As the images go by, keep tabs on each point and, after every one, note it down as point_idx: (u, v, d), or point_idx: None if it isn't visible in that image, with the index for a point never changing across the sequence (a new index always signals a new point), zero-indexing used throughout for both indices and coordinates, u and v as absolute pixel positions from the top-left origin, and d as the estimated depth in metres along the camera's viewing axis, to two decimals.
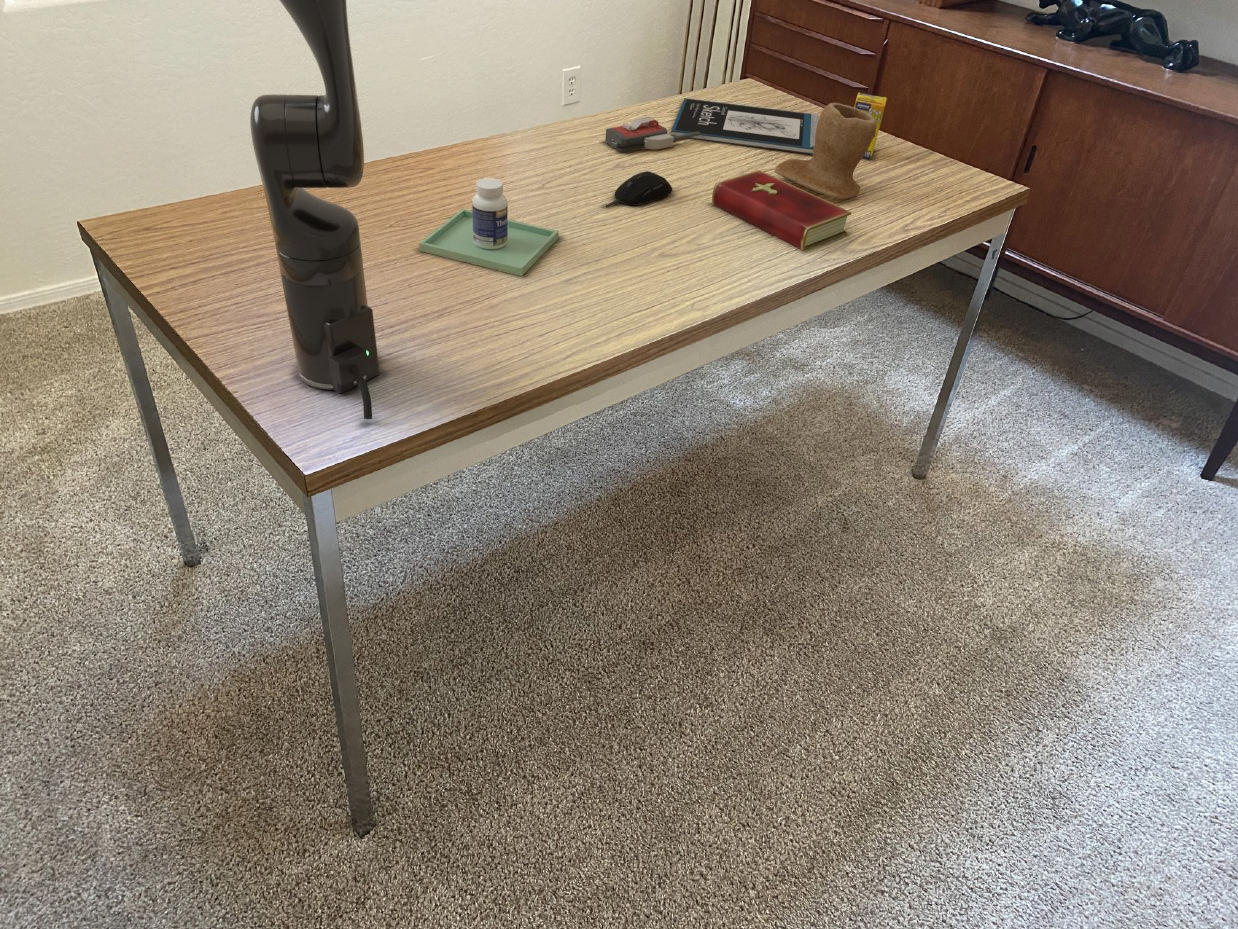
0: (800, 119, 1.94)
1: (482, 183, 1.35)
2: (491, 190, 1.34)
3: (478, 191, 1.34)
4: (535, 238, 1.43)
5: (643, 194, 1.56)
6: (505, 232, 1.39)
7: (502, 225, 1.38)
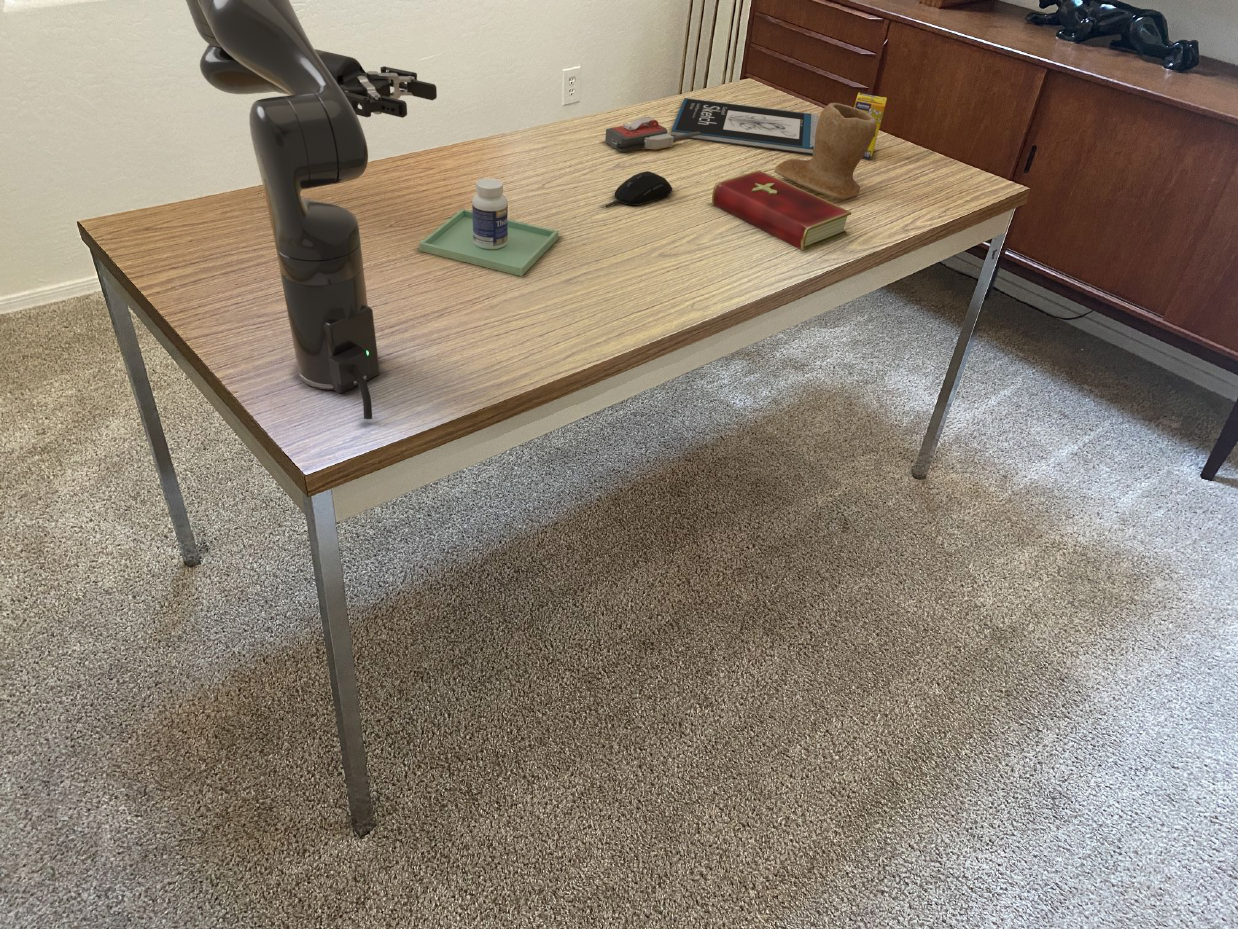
0: (800, 119, 1.94)
1: (482, 183, 1.35)
2: (491, 190, 1.34)
3: (478, 191, 1.34)
4: (535, 238, 1.43)
5: (643, 194, 1.56)
6: (505, 232, 1.39)
7: (502, 225, 1.38)
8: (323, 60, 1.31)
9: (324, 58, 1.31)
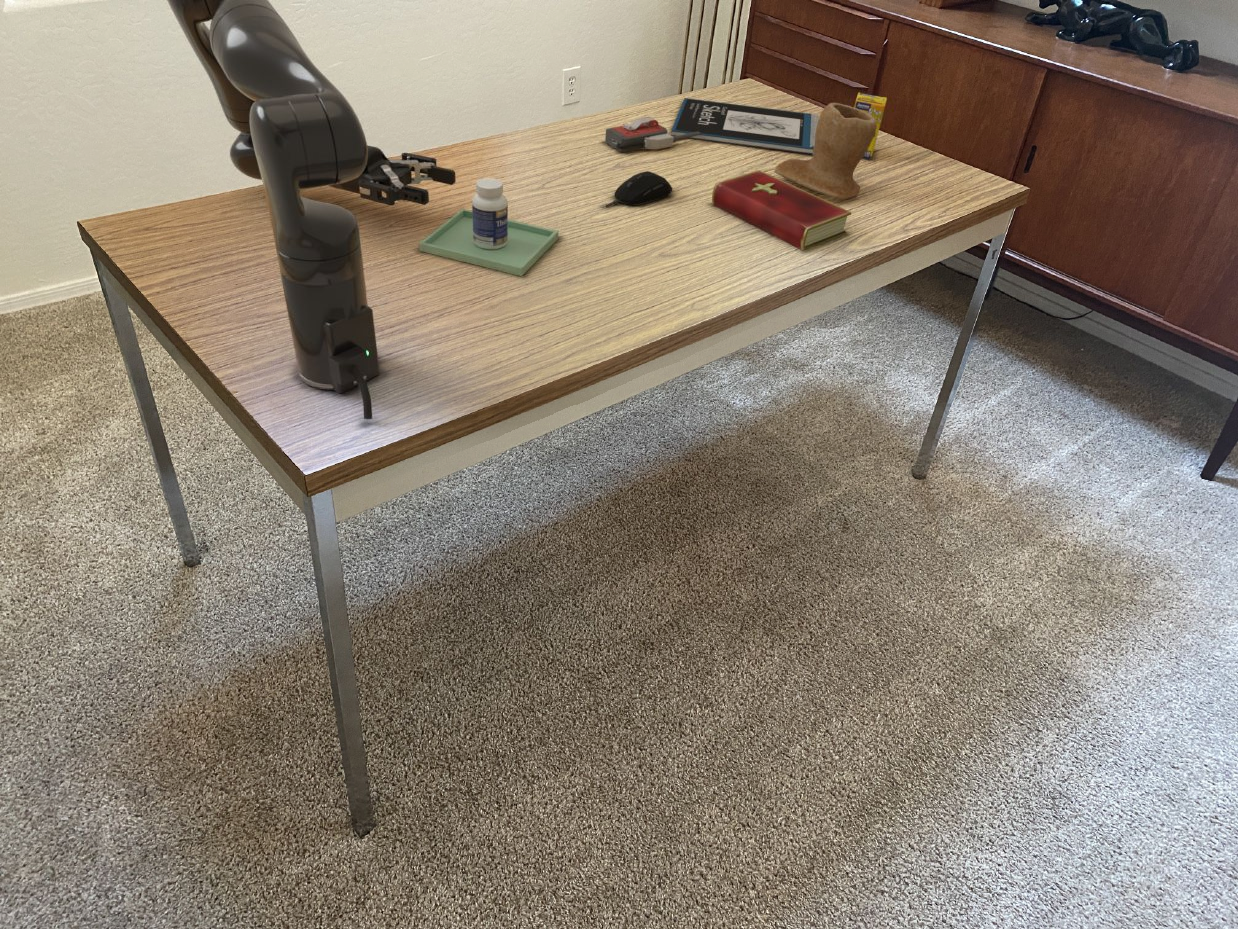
0: (800, 119, 1.94)
1: (482, 183, 1.35)
2: (491, 190, 1.34)
3: (478, 191, 1.34)
4: (535, 238, 1.43)
5: (643, 194, 1.56)
6: (505, 232, 1.39)
7: (502, 225, 1.38)
8: None
9: None
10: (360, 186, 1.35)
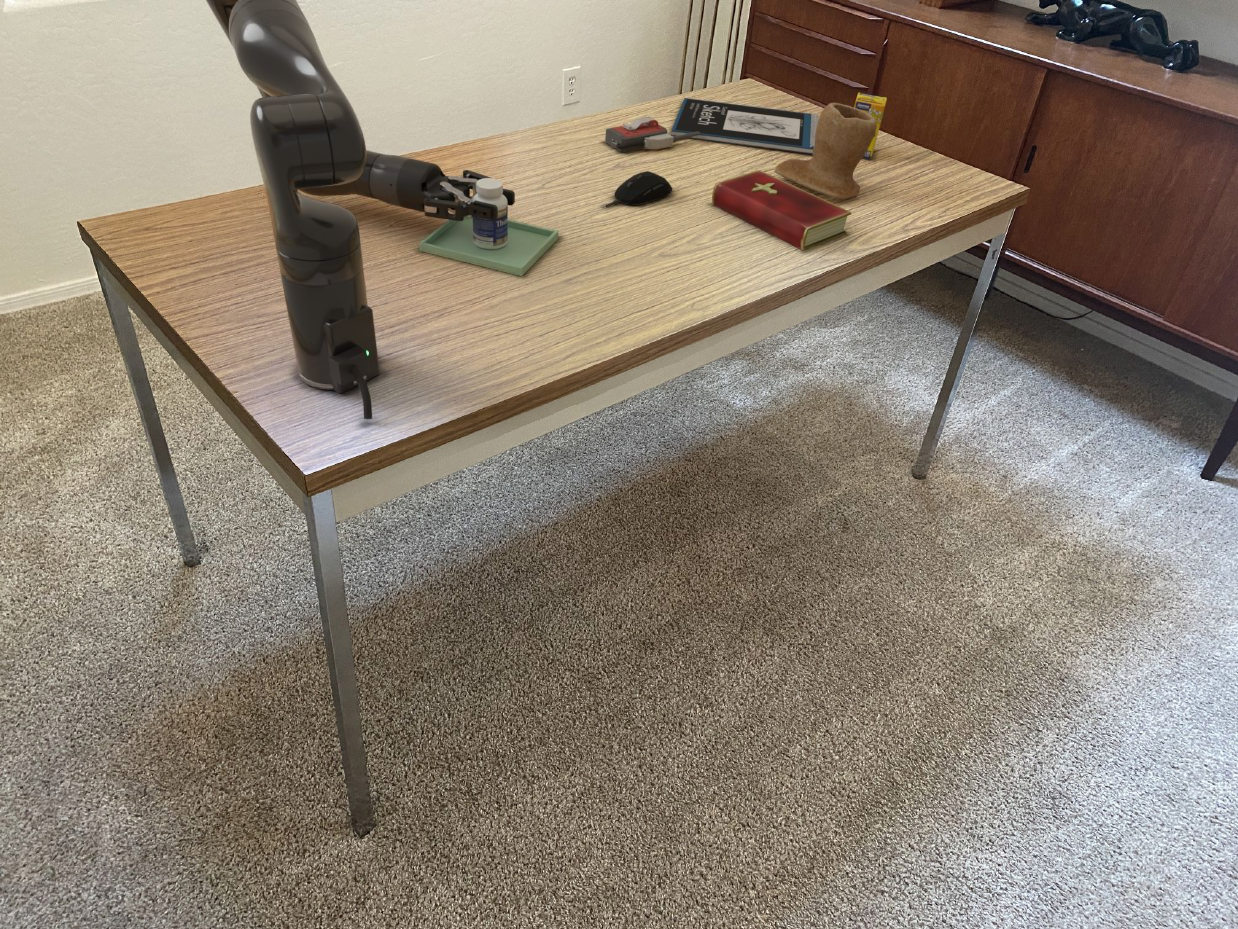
0: (800, 119, 1.94)
1: (482, 183, 1.35)
2: (491, 190, 1.34)
3: (478, 191, 1.34)
4: (535, 238, 1.43)
5: (643, 194, 1.56)
6: (505, 232, 1.39)
7: (502, 225, 1.38)
8: (407, 168, 1.36)
9: (408, 166, 1.36)
10: (426, 204, 1.33)
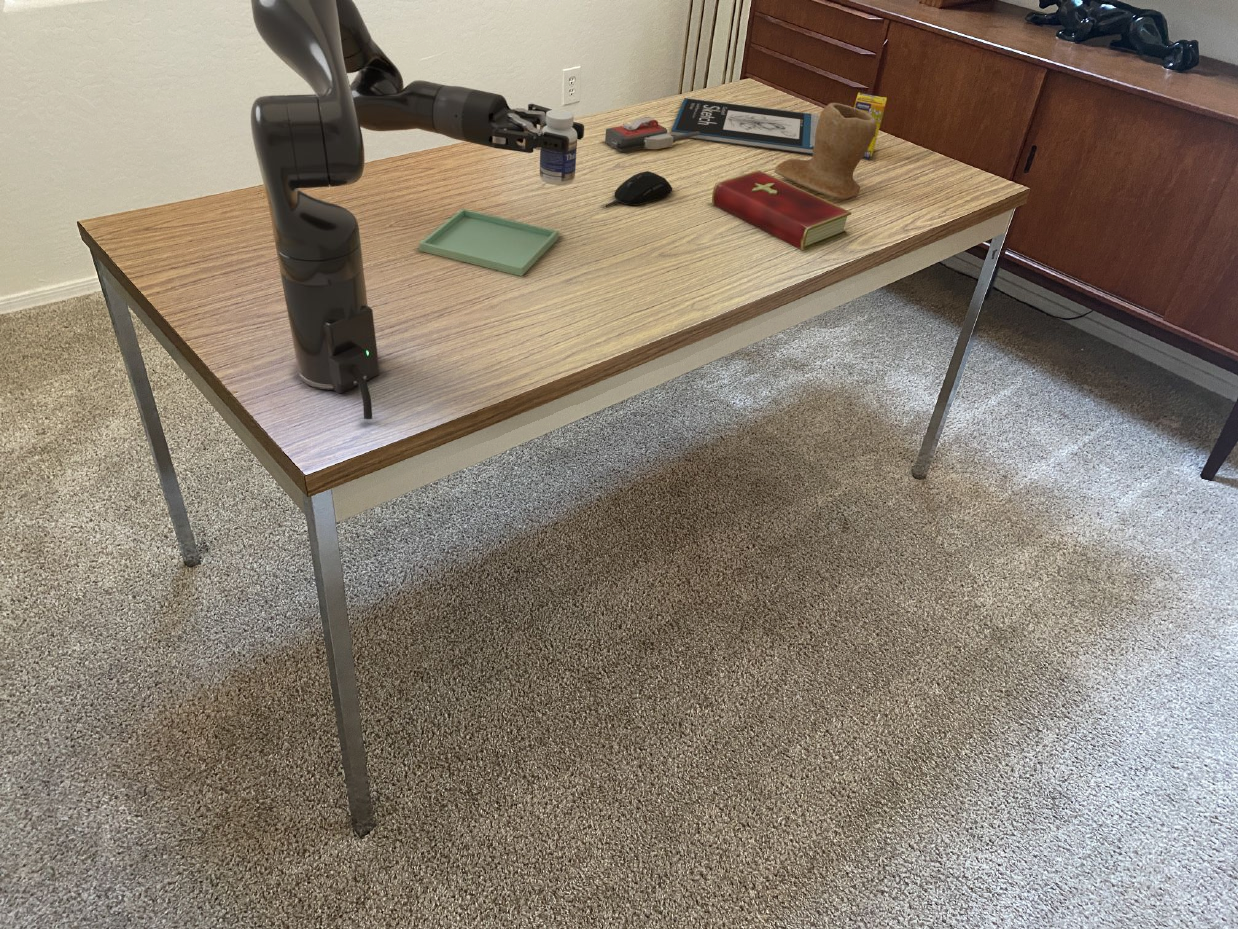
0: (800, 119, 1.94)
1: (552, 114, 1.29)
2: (563, 121, 1.28)
3: (548, 122, 1.29)
4: (535, 238, 1.43)
5: (642, 194, 1.56)
6: (574, 167, 1.33)
7: (572, 159, 1.32)
8: (473, 98, 1.31)
9: (474, 96, 1.31)
10: (494, 135, 1.27)
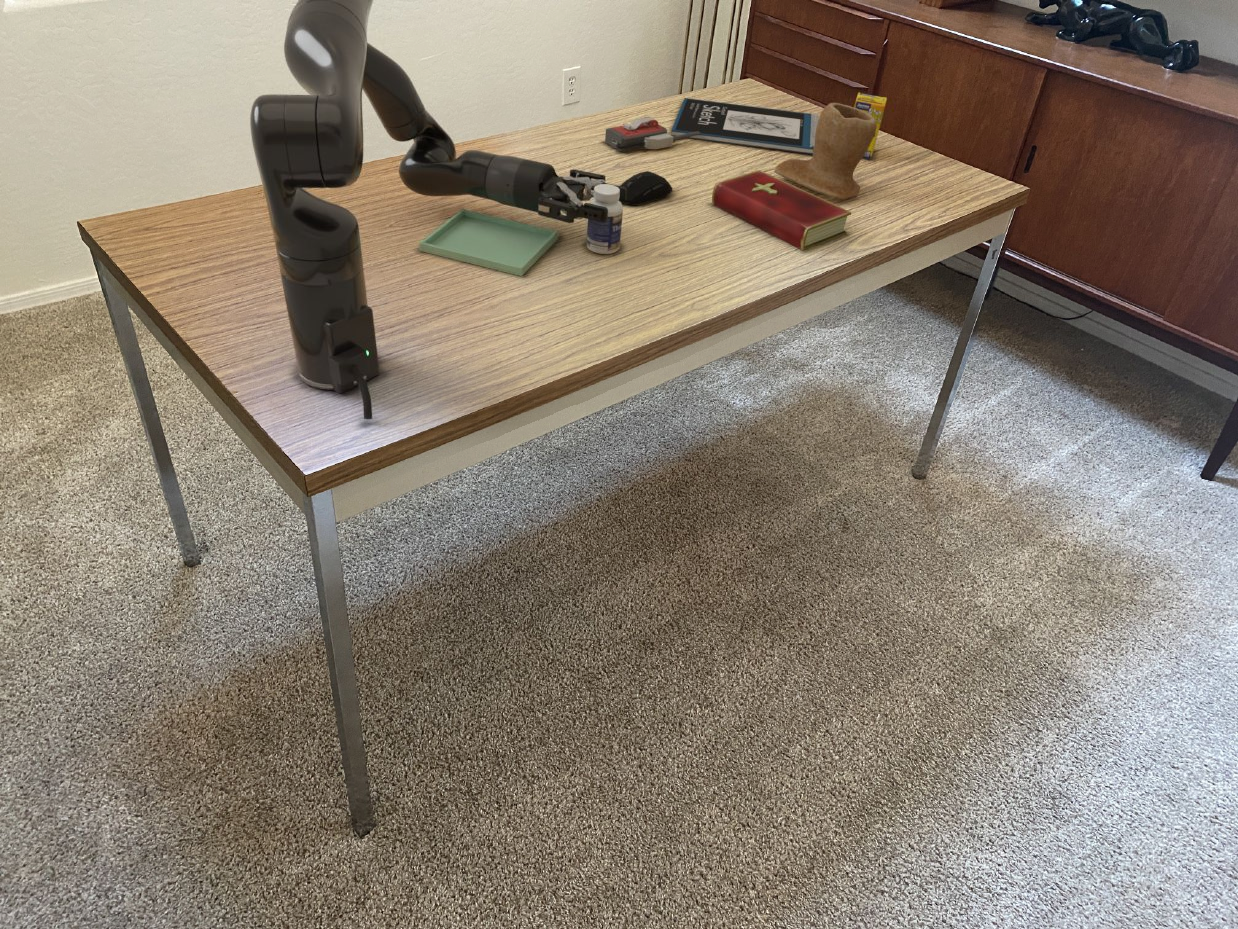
0: (800, 119, 1.94)
1: (600, 189, 1.37)
2: (610, 196, 1.36)
3: (596, 197, 1.37)
4: (535, 238, 1.43)
5: (642, 194, 1.56)
6: (619, 237, 1.41)
7: (617, 230, 1.40)
8: (524, 168, 1.38)
9: (525, 166, 1.38)
10: (539, 203, 1.35)
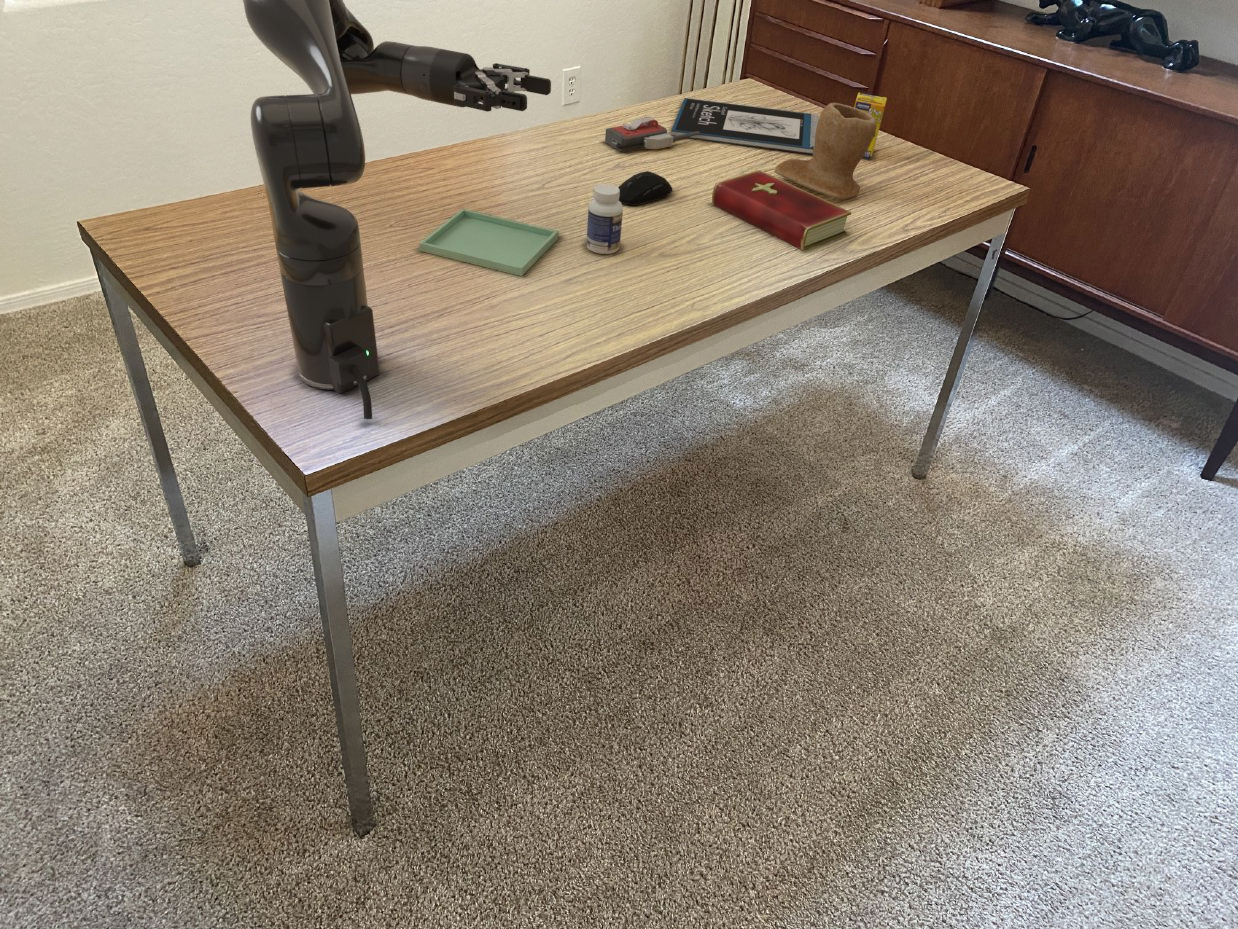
0: (800, 119, 1.94)
1: (600, 189, 1.37)
2: (610, 196, 1.36)
3: (596, 197, 1.37)
4: (535, 238, 1.43)
5: (642, 194, 1.56)
6: (619, 237, 1.41)
7: (617, 230, 1.40)
8: (441, 57, 1.31)
9: (441, 55, 1.31)
10: (454, 91, 1.28)
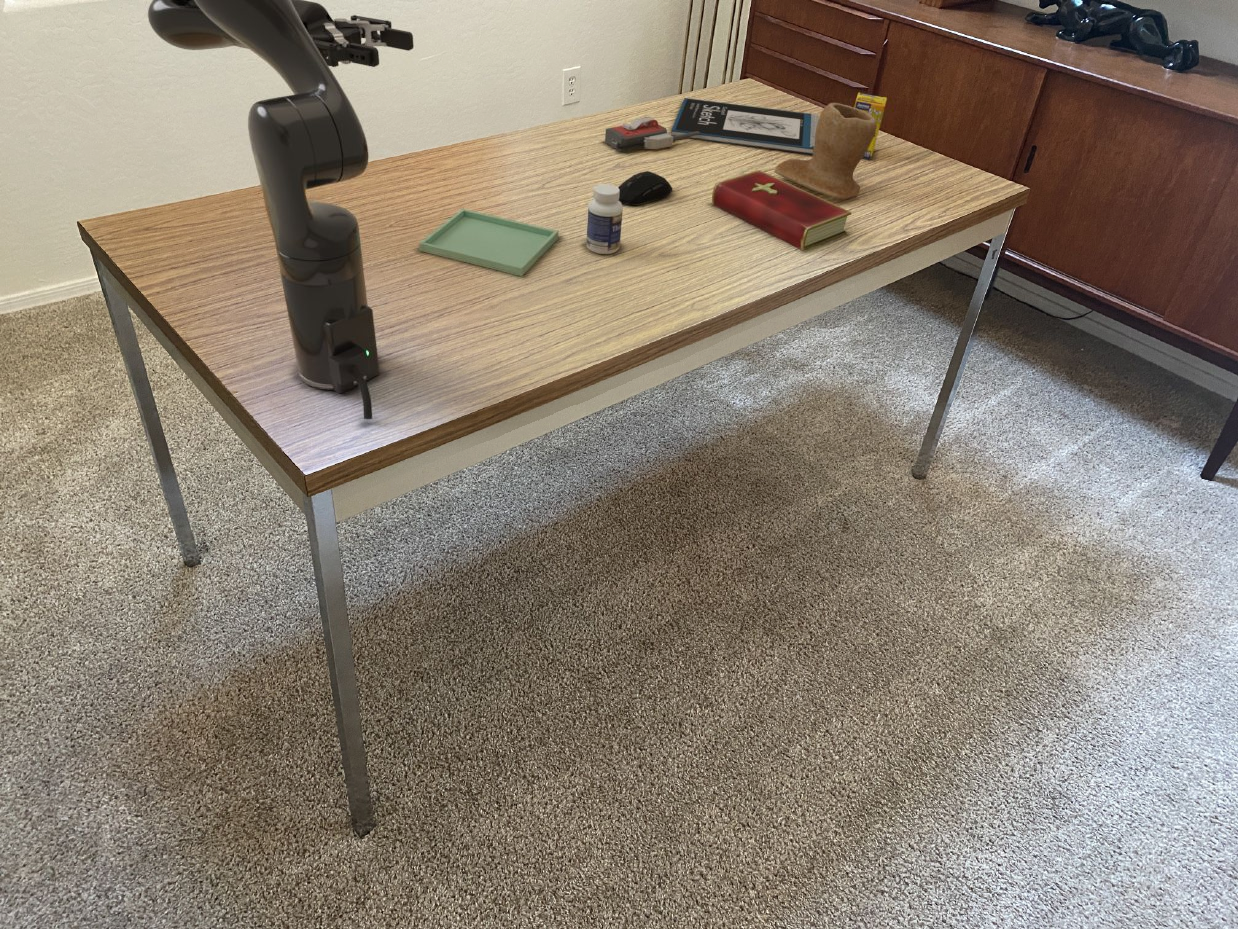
0: (800, 119, 1.94)
1: (600, 189, 1.37)
2: (610, 196, 1.36)
3: (596, 197, 1.37)
4: (535, 238, 1.43)
5: (642, 194, 1.56)
6: (619, 237, 1.41)
7: (617, 230, 1.40)
8: None
9: None
10: None
